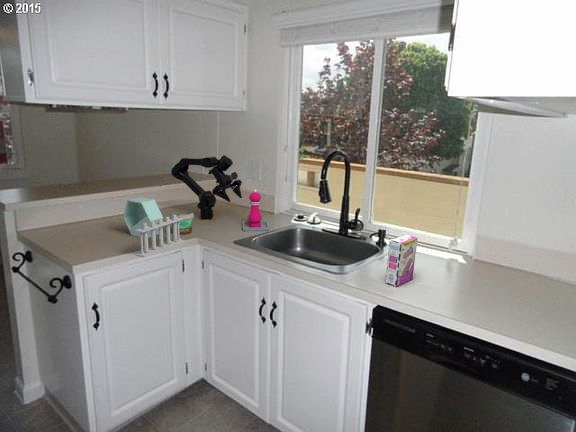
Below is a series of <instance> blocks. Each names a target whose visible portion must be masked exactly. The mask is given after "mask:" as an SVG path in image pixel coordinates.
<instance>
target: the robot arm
mask: <svg viewBox="0 0 576 432" xmlns="http://www.w3.org/2000/svg"><path fill="white" fill-rule="evenodd" d="M233 165H234V164H233V160H232V159H231V158H230V157H228V156H226V155H222V156H221V157H220V159H219V158H217V157H216V156H208V157H207V156H206V157H201V158H200V157H199V158H198V157H197V158H196V157H195V158H194V157H182V158H181V159H180V160H179V161H178V162H177V163H176V164H175V165H174V166H173V167H172V168H171V171H170V173H171V175H172V177H173V178H175V179H177V180H178V181H182V183H184V184H185V185H186V186H187V187H188V188H189V189H190V190H191V191H192V192H193V193H194V194H195V195H196V196H197V197H198V201H199V202H198V204H196V205H197V208H198V209H200V218H199V219H200V220H213V218H214V209H213V208H215V205H216V202H217V197H219V198H221V199H223V200H225V201H226V202H227V203H231V198H230V197H229V195H228V194H227V191H226V190H227V189H231V190H232V192H233V193H234V194H235V195H236V196H237V197H238V198H240V199H242V198H243V196H242V192H241V186H242V184H243V181H242V180H241V179H238V177H239V176H238V173H237V171H233V172H231V174H225V172H227V170H229V169H230V168H231V166H233ZM190 166H201V167H203V168H206V169H209V170H208V175H212V176H213V178H214V179H215V180H216V181H215V183H216V184H217V185H215V187H214V188H213V189H212V191H211V190H210V189H209V190H205V189H204V188H203V187H202V186H201V185H199V183H197V182H196V181H195V179H194V178H192V176H190V174H189V168H190Z"/></svg>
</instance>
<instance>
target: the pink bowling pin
mask: <svg viewBox="0 0 576 432" xmlns="http://www.w3.org/2000/svg"><path fill="white" fill-rule="evenodd" d="M257 191H258V190H257V189H255V188H254V189H253V192H251V193H250V194H249V200H250V203H249V205H250V211H249V214H248V218H247V219H248V220H247V221H249V222H250V223H249V227H250V228H252V227H261V223H260V222H261V221H263V218H262V217H263V216H262V213H261V211H260V205H261V204H260V201H261V199H262V198H261V197H262V196H261V193H259V192H257Z"/></svg>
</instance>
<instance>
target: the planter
mask: <svg viewBox="0 0 576 432" xmlns="http://www.w3.org/2000/svg"><path fill="white" fill-rule="evenodd" d="M123 212H124V213H123V220H124V223H125V224H126V226H127V229H128V231H129V234H130V235H131V236H132V235H133V237H136V236H137V238H140V232H136V231H135V230H137V229H140V228H143V226H142V225H143V223H147V226H150V225H151V221H155V224H157V223H158V219H162V220H164V217H163V214H162V212H161V210H160V207H159V206H158V204H157V201H156V200H155V199H152V198H147V197H141V196H139V197H135V198H130V199H126V203H125V207H124V211H123ZM147 234H148V239H149V238H150V239H151V230H149V231H147ZM155 234H156V237H157V236H159V227H158V228H155ZM142 239H143V233H142Z"/></svg>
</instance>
